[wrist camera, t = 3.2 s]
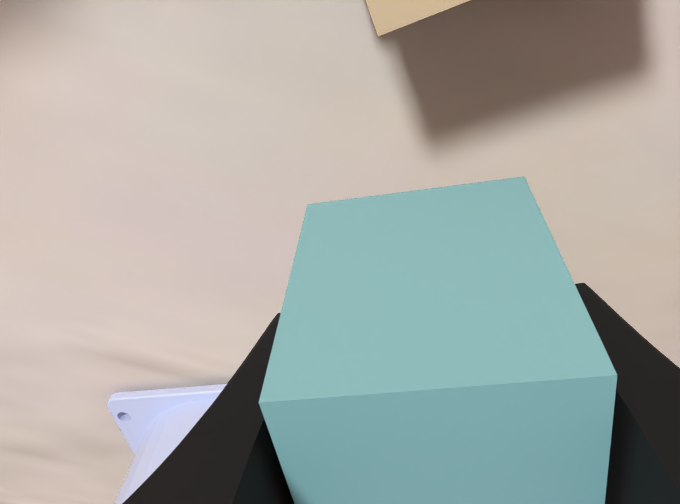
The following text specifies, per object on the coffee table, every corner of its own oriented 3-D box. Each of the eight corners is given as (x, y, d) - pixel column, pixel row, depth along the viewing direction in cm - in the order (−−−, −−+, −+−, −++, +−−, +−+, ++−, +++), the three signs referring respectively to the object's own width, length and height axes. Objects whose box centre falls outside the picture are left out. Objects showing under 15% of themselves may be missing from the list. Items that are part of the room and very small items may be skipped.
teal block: (526, 344, 12) (597, 579, 8) (343, 360, 13) (323, 586, 9) (524, 176, 10) (617, 374, 6) (307, 204, 11) (259, 402, 7)
